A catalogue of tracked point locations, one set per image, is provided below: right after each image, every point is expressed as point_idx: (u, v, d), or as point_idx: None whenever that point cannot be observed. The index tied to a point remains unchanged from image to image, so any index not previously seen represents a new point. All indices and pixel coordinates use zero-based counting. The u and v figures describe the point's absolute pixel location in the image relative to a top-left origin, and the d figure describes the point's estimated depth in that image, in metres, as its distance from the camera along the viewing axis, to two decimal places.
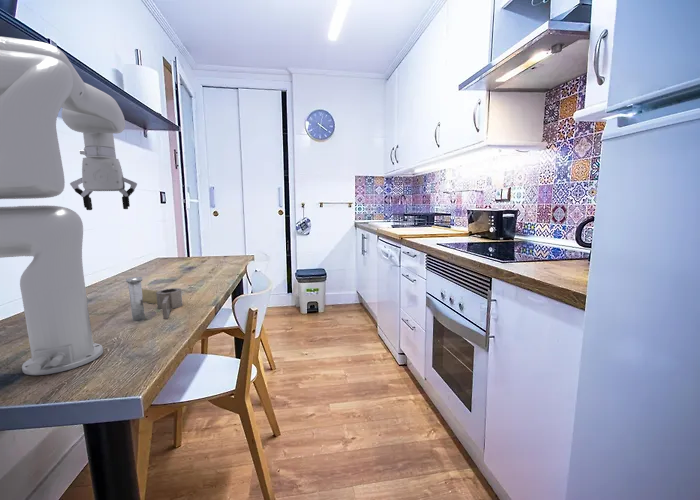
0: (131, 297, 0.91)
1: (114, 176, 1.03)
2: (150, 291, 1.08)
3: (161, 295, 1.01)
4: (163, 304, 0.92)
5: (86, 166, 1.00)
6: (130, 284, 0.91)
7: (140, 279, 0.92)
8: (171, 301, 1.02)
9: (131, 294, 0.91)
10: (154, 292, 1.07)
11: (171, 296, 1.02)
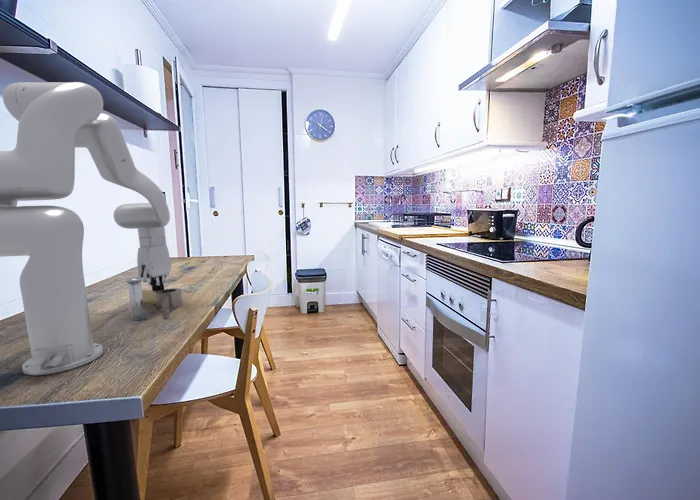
0: (131, 297, 0.91)
1: None
2: (148, 291, 1.08)
3: (161, 295, 1.01)
4: (163, 304, 0.92)
5: None
6: (130, 284, 0.91)
7: (140, 279, 0.92)
8: (171, 301, 1.02)
9: (131, 294, 0.91)
10: (153, 292, 1.07)
11: (171, 296, 1.02)
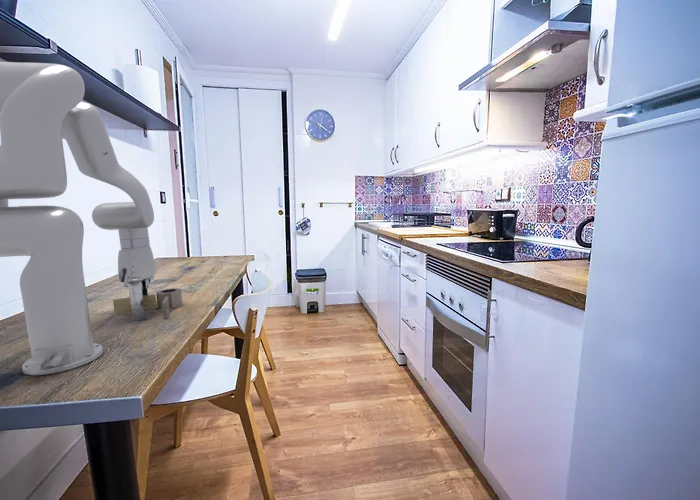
0: (131, 297, 0.91)
1: None
2: None
3: (161, 295, 1.01)
4: (163, 304, 0.92)
5: None
6: (130, 284, 0.91)
7: (140, 279, 0.92)
8: (171, 301, 1.02)
9: (131, 294, 0.91)
10: (144, 297, 1.01)
11: (171, 296, 1.02)
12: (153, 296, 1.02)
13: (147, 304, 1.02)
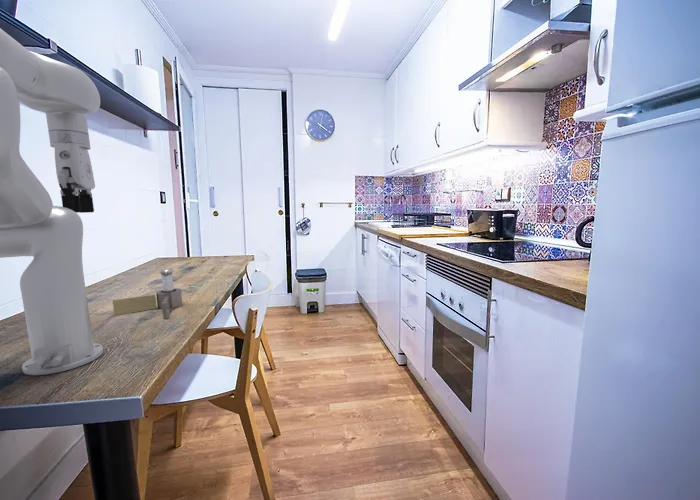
0: (164, 286, 1.03)
1: (92, 172, 0.85)
2: (136, 298, 1.00)
3: (161, 295, 1.01)
4: (163, 304, 0.92)
5: (81, 157, 0.79)
6: (163, 275, 1.02)
7: (172, 270, 1.03)
8: (171, 301, 1.02)
9: (164, 283, 1.03)
10: (144, 297, 1.01)
11: (171, 296, 1.02)
12: (153, 296, 1.02)
13: (147, 304, 1.01)
